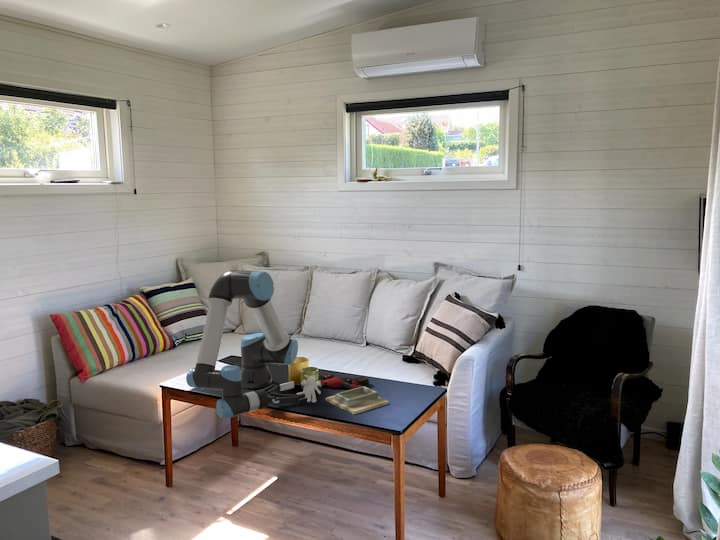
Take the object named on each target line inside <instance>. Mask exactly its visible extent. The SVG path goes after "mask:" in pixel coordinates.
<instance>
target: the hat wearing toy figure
mask: <svg viewBox="0 0 720 540" xmlns="http://www.w3.org/2000/svg"><path fill="white" fill-rule="evenodd" d="M303 376H304V377H305V379H302V381H301V382H300V383H301V386H303V390H302V392H303V391H307V390H311V397H308V398H306V399H307V400H306V402H307V403H317V402H318V400H317V397H316V392H317V394H318V395H321V393H322V391H321V390H320V389H319V387H320V388H321V387H322V384H321V383H320V382H319V380H316V378H315V377H313V376H312V375H310V376H309V374H303ZM320 385H321V386H320ZM310 401H311V402H310ZM316 401H317V402H316Z"/></svg>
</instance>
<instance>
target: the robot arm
mask: <svg viewBox="0 0 720 540" xmlns="http://www.w3.org/2000/svg"><path fill="white" fill-rule="evenodd" d="M274 291H275V287H274V281H273V278H272V275H270V273H268V272H267V271H262V270H237V269H231V270H229V271H225V272H224V273H222V274H221V275H220V276H219V277H218V278H217V279H216V280H215V282H214V283H213V285H212V287H211V289H210V291H209V294H208V298H207V301H208V303H209V306H208V310H207V313H206V319H205V324H204V328H203V332H202V337H201V342H200V345H199V350H198V355H197V358H196V359H197V360H196V363H195V367H192V368H190V369H189V370H188V371H187V374H186V377H185V379H186V384H187V386H188V387H190V388H195V389H202V390H203V389H205V390H214V391H221V395H222V397H221V398H220V399H218V400H217V401H216V404H215V407H216V414H217V415H218V416H219V418H221V419H229V418H233V417H236V416H240V415H244V414H247V413H249V414H251V413H252V412H255V411H257V410H258V411H259V410H263V409H266V408H268V406H269V405H270V404H273V405H274V406H279V405H287V404H299V403H300V400H305V399H307V398H308V397H311V398H312V394H311V390H307V391H303V390H302V391H300V392H297V393H295V394H293V393H292V394H290V393H287V394H286V393H283V394H282V393H281V392H282V391H287V390H291V389H294V388H295V381H293V380H292V381H288V382H285V383H281V384H280V383H279V382H276V383H273V377H272V374H271V372H270V369H269V367H268V364H274V365H284V366H287V365H288V366H290V365H292V364H294V363H295V361H296V359H297V356H298V351H299V343H298V340H297V339H295V338H291V337H290V334H289V333H288V332H287V331H285V330H284V329H283V327H282V325H281V322H280V320H279V317H278V316H277V315H278V314H277V313H276V311H275V310H276V309H275V308H274V305H273V303H272V301H271V299H272V298H273V295H274ZM234 299H236V300H242V301H243V302H244V304H245V305H246V307H247V308H249V309H251V310H252V313H253V315H254V317H255V319H256V321H257V323H258V326H259V328H260V331H261V332H256V333H250V334H247V335H245V336H243V337H242V338H241V339H240V352H241V353H240V354H241V357H240V358H241V367H240V366H238V365H236V364H230V365H227V364H226V365H225V366H222V367H221V370H220V369H216V365H217V361H218V356H219V352H220V348H221V341H222V337H223V333H224V328H225V326H226V325H225V324H226V319H227V314H228V311H229V307H231V306H232V304H233V301H234ZM268 385H269V386H268ZM262 387H263V388H262ZM248 388H249V389H250V388H251V389H252V390H253V388H254V389H255V388H256V389H258V390H256V389H255V390H254V391H248V392H244V393H243V389H248ZM251 389H250V390H251ZM279 391H280V392H279Z"/></svg>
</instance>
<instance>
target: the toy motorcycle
mask: <svg viewBox="0 0 720 540" xmlns="http://www.w3.org/2000/svg"><path fill="white" fill-rule="evenodd" d="M318 377H319V380H318V381H319V382H320V383H321V385H320V386H321V387H322V386H328V387H329V388H333V389H337V388H338V389H339V388H346V389H348V390H351V389H355V388H358V387H362V386H364V387H367V386H368V385H369V384H370V380H369V379H368V378H367V377H365V376H357V377H354V378H351V377H346V376H345V377H344V376H342V377H341V376H337V377H334V374H332V373H330V372H323V373H321V374H319V375H318ZM320 386H319V387H320Z"/></svg>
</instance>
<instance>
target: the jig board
mask: <svg viewBox="0 0 720 540" xmlns="http://www.w3.org/2000/svg"><path fill="white" fill-rule="evenodd" d="M325 401H326V402H327V403H329V404H332V405H333V406H335V407H337V408H339V409H342V410H343V409H344V411H345V410H346V412H347V411H348V413H349V412H350V413H349V414H351V413H352V415H353V414H354V415H357V414H360V413H364V412H367V411H370V410H373V409H376V408H380V407H383V406H387V405H388V404H389V400H387V399H385V398H381V397H379V392H378V391H376V390H373V389H372V388H369V387H367V386H365V387H364V386H362V387H358V388H355V389H348V390H344V391H341V392H337V393H335V394H334V395H331V396H328V397H327V396H326V397H325Z"/></svg>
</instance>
